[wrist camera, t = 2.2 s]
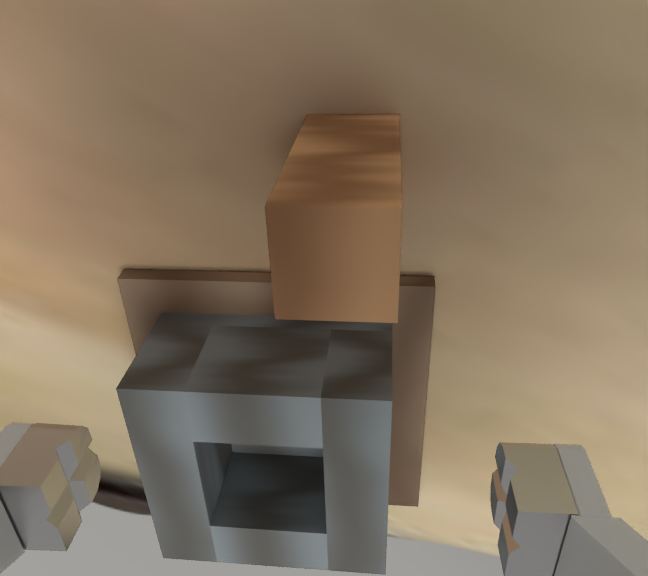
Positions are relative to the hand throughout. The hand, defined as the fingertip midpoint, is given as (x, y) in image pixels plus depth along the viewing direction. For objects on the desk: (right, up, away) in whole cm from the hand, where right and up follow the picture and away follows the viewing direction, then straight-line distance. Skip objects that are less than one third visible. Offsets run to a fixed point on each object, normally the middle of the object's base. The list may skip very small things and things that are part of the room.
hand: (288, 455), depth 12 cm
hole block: (-2, -3, +23) cm, 23 cm away
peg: (+2, +9, +15) cm, 18 cm away
